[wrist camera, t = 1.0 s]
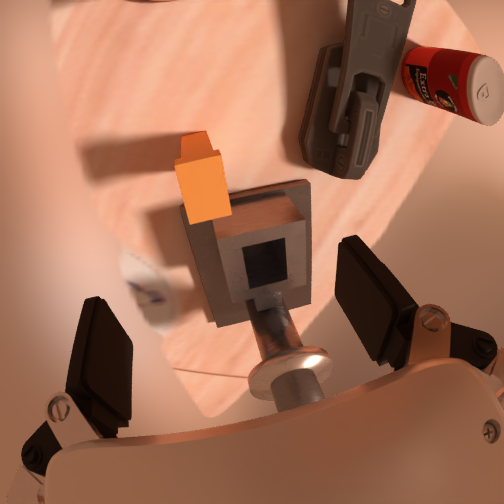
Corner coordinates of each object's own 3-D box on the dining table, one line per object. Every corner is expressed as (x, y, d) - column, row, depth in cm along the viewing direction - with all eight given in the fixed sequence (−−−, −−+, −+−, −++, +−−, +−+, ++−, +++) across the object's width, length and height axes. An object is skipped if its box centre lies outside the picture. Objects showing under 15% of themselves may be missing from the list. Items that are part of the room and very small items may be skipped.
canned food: (389, 67, 24) (462, 81, 16) (422, 35, 22) (492, 43, 13) (419, 114, 28) (485, 141, 20) (448, 80, 26) (513, 100, 17)
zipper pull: (426, -23, 13) (393, 195, 27) (387, -16, 18) (361, 172, 32) (349, -61, 11) (319, 191, 25) (317, -42, 16) (293, 167, 30)
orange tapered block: (177, 133, 25) (174, 165, 17) (208, 126, 25) (221, 154, 17) (187, 174, 28) (189, 224, 20) (216, 167, 28) (232, 214, 20)
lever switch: (180, 205, 30) (192, 397, 13) (306, 179, 31) (431, 320, 14) (216, 321, 41) (246, 462, 24) (308, 298, 42) (368, 423, 26)
